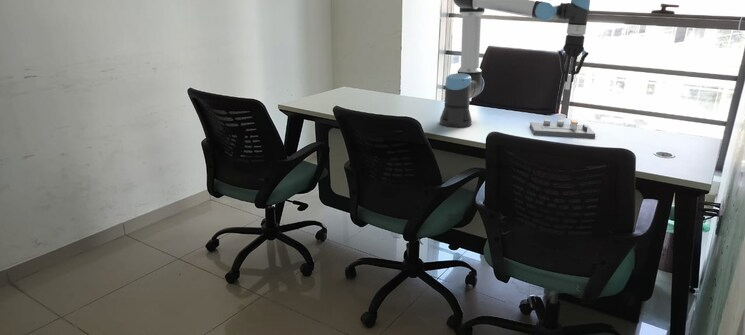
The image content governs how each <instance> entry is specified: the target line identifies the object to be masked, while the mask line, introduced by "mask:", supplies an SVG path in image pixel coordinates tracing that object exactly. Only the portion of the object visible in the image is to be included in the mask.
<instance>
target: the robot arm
mask: <svg viewBox="0 0 745 335" xmlns="http://www.w3.org/2000/svg"><path fill="white" fill-rule="evenodd" d="M453 2H454V4H455V5H456V6H457V7H459V14H460V15H461V16H462V19H461V20H462V22H461V23H462V24H461V29H462V30H461V51H460V52H461V53H460V54H461V56H460V67H459V68H458V69H457V72H456V73H451V74H448V75H447V77H446V78H445V82H444V83H445V86H444V89H445V90H444V104H443V105H444V107H443V110H442V113H441V115H440V118H439V124H440V125H441V126H444V127H449V128H466V127H467V128H468V127H470V126H472V121H473V120H472V116H471V112H470V102H471V101H470V99H472V98H475V97H477V96H479V95H480V94H481V93H482V91H483V90H484V87H485V80H484V78H483V77H482V73H483V72H482V71H483V70H482V68H480V66H479V65H480V60H479V59H480V42H481V24H482V23H481V22H482V15H483V14H484V13H485V10H490V11H496V12H502V13H506V14H510V15H511V14H512V15H517V16H523V17H529V18H531V19H532V18H533V19H537V20H541V21H545V22H548V21H552V20H557V21H558V20H559V21H560V20H563V21H568V22H567V29H566V33H567V34H566V36H565V41H564V46H563V48H561V49H560V50H557V54H558V57H559V66H560V72H561V73H562V74H564V77H563V82H564V83H565V85H564V86H565V87H564V90H567V91H570V90H571V89H570V88H571V83H573V82H574V78H575V75H578V74H579V73H580V72H581V69H582V67H583V64H584V62H585V60H586V58H587V57H588V56H589V52H588V51H586V50H585V48H584V42H585V36H584V35H586V30H587V24H588V19H589V12H590V3H591V0H570V1H559V0H558V1H557V0H554V1H553V0H453ZM564 53H565V54H566V62H565V63H564V61H565V60H564ZM580 55H581V57H580V59H579V62H578V61H577V60H578V57H579V56H580ZM571 60H572V62H571ZM577 62H578V63H577ZM571 63H572V64H571ZM576 66H577V67H576ZM570 68H571V70H570ZM569 73H570V74H569Z"/></svg>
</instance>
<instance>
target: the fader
mask: <svg viewBox="0 0 745 335" xmlns="http://www.w3.org/2000/svg"><path fill="white" fill-rule="evenodd" d="M570 123H571V126H570V128H571V129H572V130H577V125H579V124H578V123H579V122H578V120H577V119H574V120H573V119H571V120H570Z"/></svg>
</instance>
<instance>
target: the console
mask: <svg viewBox="0 0 745 335" xmlns="http://www.w3.org/2000/svg"><path fill="white" fill-rule="evenodd" d="M570 126H571V122H570V123H569V124H568V123H565V121H564V120H557V121H556V123H552V122H551V120H550V119H543V122H532V121H531V122H529V127H530V130H531V131H532V134H533V135H534V136H550V137H551V136H552V137H568V138H569V137H570V138H581V139H582V138H583V139H584V138H586V139H587V138H588V139H595V138H596V132H594V131H593V130H592V128H591V127H590V126H589V125H588V124H577V130H572V129H571V128H570Z"/></svg>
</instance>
